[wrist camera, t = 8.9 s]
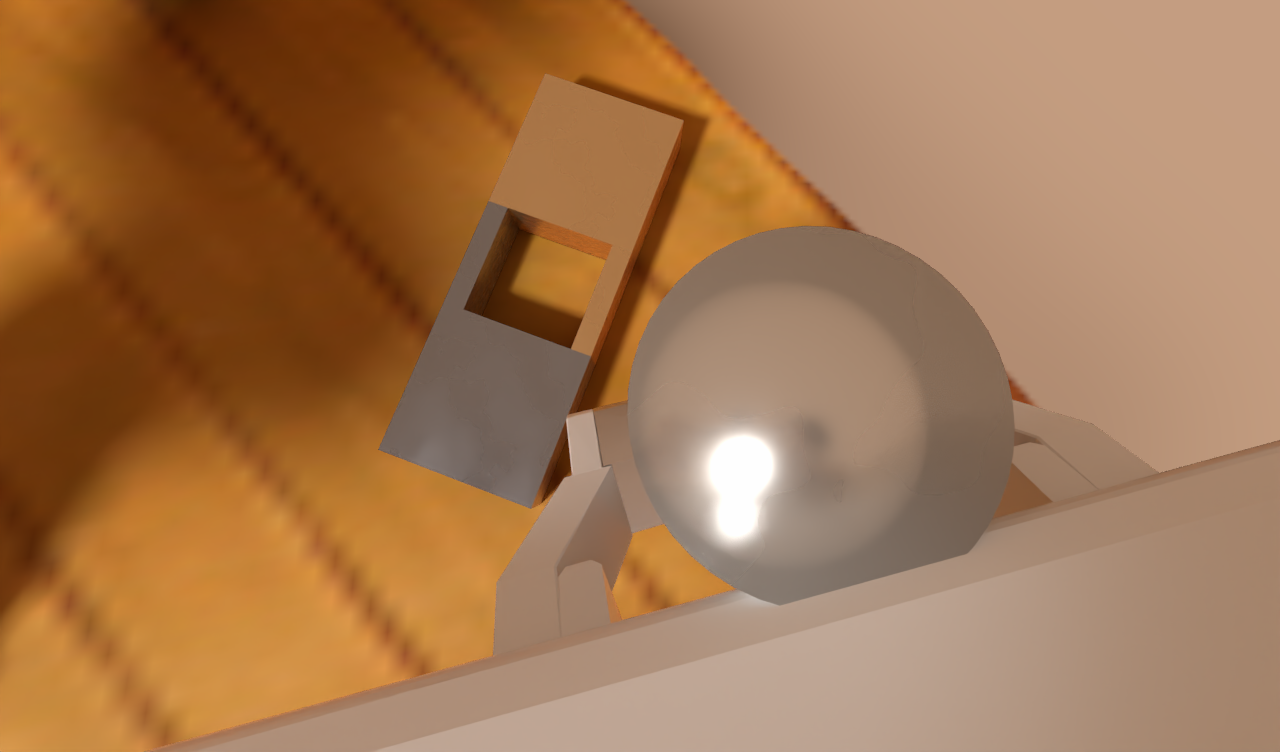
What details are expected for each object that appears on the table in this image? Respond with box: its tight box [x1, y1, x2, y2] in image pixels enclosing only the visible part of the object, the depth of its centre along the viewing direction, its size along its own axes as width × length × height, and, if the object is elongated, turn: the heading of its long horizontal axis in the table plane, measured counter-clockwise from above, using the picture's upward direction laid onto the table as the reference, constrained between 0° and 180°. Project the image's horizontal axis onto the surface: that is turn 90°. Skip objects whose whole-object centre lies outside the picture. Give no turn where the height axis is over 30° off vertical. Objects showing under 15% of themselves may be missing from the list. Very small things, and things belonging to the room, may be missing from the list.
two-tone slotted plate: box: [378, 73, 684, 508], centre depth 26 cm, size 20×7×2 cm, turn 160°
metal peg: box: [627, 226, 1015, 606], centre depth 10 cm, size 4×4×10 cm
